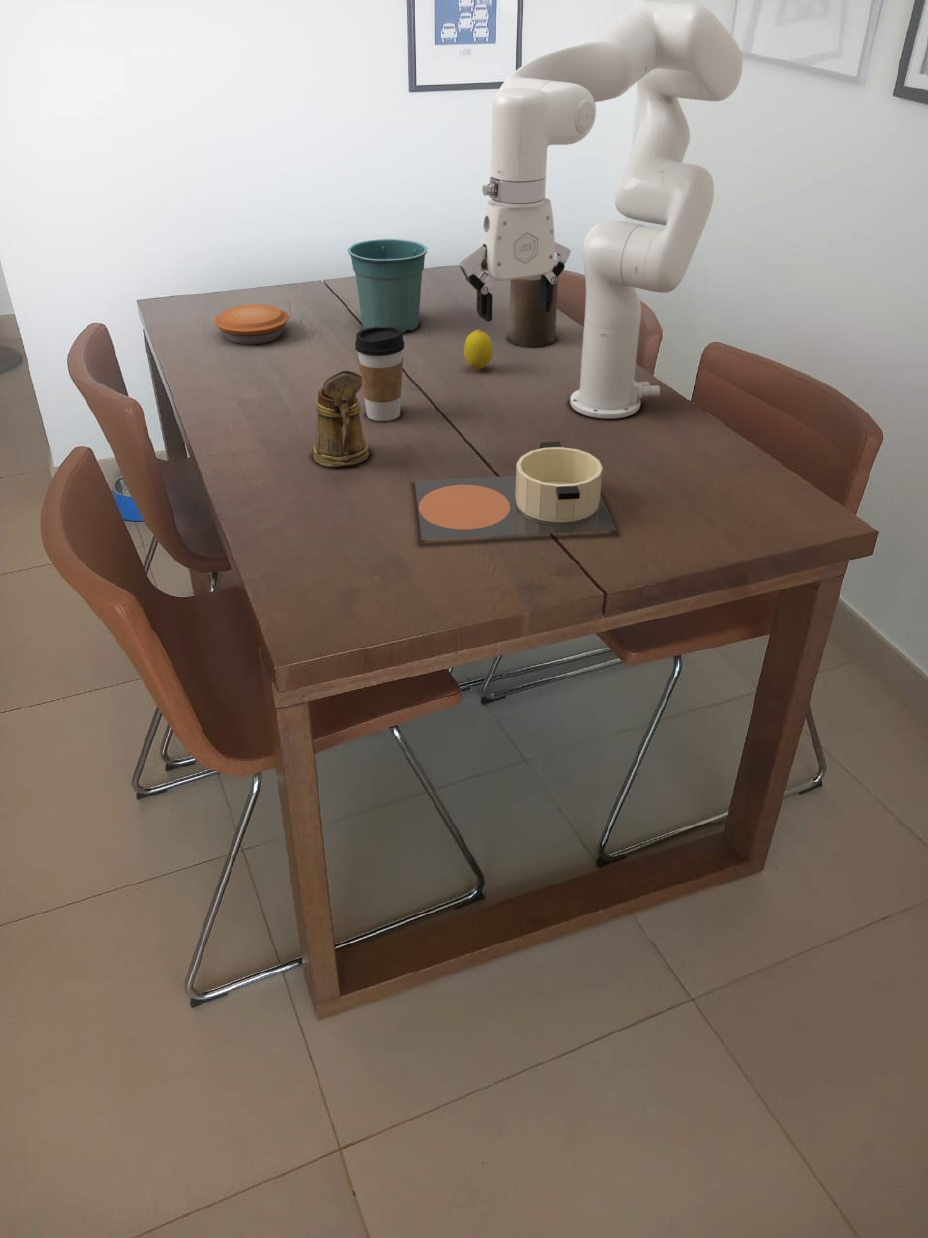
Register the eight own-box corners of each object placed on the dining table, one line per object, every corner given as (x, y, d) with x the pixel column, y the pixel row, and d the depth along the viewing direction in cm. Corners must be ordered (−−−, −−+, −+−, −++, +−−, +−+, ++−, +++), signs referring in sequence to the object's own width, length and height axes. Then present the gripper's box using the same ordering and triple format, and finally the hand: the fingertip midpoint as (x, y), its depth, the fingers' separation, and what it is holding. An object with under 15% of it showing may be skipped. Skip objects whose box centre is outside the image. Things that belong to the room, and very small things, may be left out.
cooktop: (590, 476, 158) (591, 471, 157) (615, 534, 143) (616, 529, 143) (414, 484, 156) (414, 480, 155) (421, 544, 141) (421, 539, 141)
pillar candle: (541, 350, 202) (544, 275, 194) (500, 341, 207) (501, 267, 198) (563, 335, 209) (567, 263, 200) (523, 327, 213) (525, 255, 205)
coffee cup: (400, 426, 173) (396, 342, 164) (353, 422, 174) (347, 338, 166) (412, 406, 180) (409, 324, 171) (367, 403, 181) (362, 321, 172)
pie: (306, 330, 212) (303, 307, 209) (256, 353, 201) (253, 329, 198) (251, 317, 219) (248, 295, 216) (200, 339, 208) (197, 315, 205)
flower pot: (385, 307, 224) (382, 233, 214) (444, 322, 216) (443, 245, 207) (337, 328, 213) (331, 251, 204) (396, 344, 205) (393, 264, 196)
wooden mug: (324, 484, 156) (313, 374, 145) (309, 447, 166) (298, 342, 156) (379, 476, 158) (373, 367, 147) (361, 440, 168) (354, 336, 158)
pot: (587, 474, 157) (590, 439, 153) (609, 527, 143) (613, 490, 140) (509, 478, 156) (510, 443, 152) (524, 531, 142) (525, 494, 139)
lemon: (459, 372, 193) (459, 332, 188) (470, 363, 197) (470, 323, 192) (486, 377, 191) (486, 336, 186) (496, 366, 195) (497, 326, 190)
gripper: (473, 202, 131) (472, 330, 141) (586, 189, 137) (578, 313, 147) (449, 190, 137) (450, 314, 147) (559, 178, 143) (553, 298, 153)
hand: (514, 313), depth 147 cm, fingers open, 9 cm apart
